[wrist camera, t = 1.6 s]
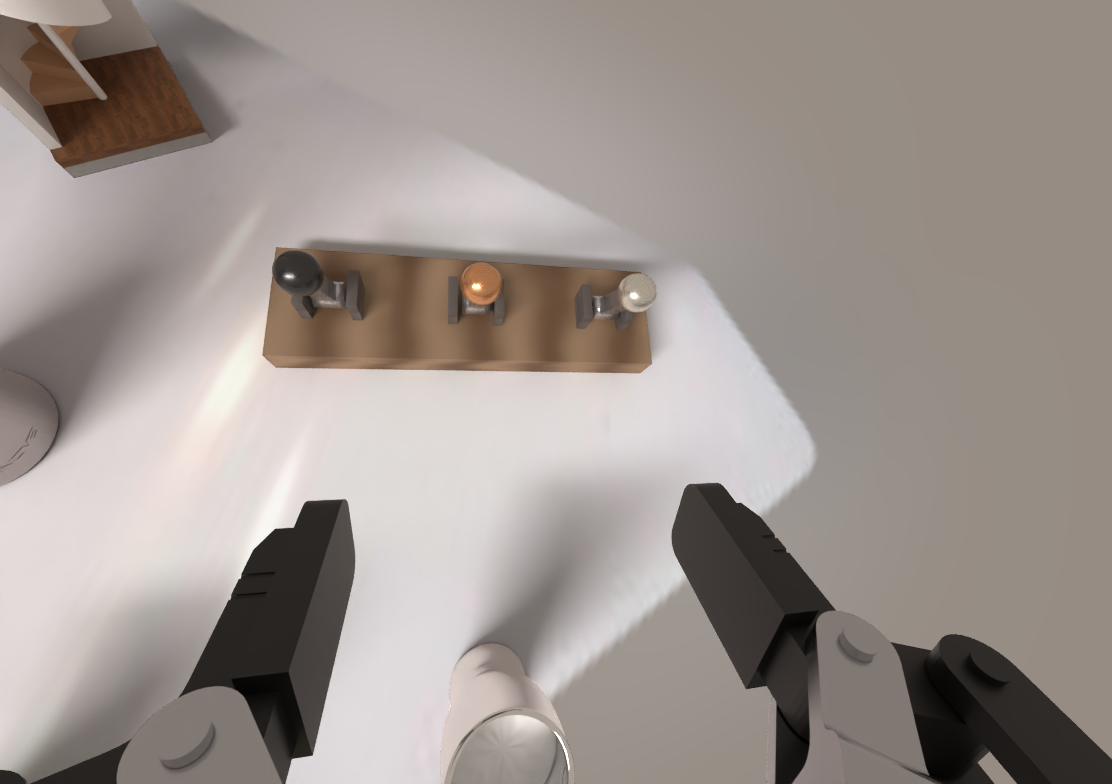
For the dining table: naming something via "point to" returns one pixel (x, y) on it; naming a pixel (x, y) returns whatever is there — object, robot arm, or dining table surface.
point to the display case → (92, 83)
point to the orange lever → (479, 288)
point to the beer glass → (501, 725)
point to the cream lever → (625, 298)
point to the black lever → (308, 280)
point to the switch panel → (454, 320)
